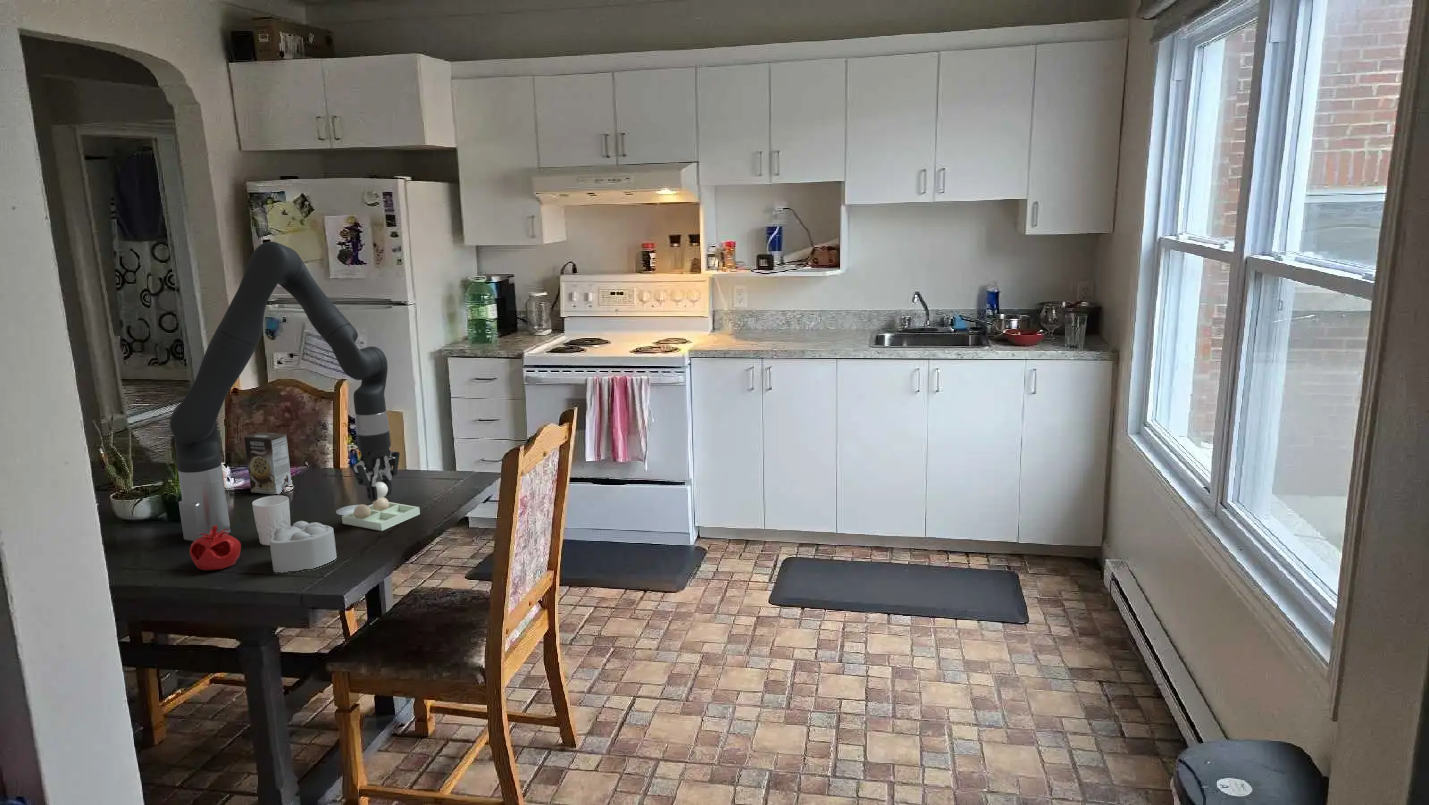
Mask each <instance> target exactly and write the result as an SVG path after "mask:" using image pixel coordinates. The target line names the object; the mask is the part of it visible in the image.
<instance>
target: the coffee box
mask: <svg viewBox="0 0 1429 805" xmlns="http://www.w3.org/2000/svg"><path fill="white" fill-rule="evenodd" d="M243 439H244V446H245V453H246V455H245V456H246V460H247V461H246V463H247V470H248V471H247V472H248V477H249V485H250V492H251V493H255V494H256V493H257V494H264V495H265V494H267V495H275V494H278V495H280V494H282V493H283V492H282V490H283V489H284V488H285V486H286V485H292V486H293V483H292V475H291V466H290V457H289V448H288V438H287V433H279V432H267V431H258V432H255V433H251V434H249V435H245V436H244V437H243ZM281 492H282V493H281Z"/></svg>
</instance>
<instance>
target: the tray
mask: <svg viewBox="0 0 1429 805" xmlns="http://www.w3.org/2000/svg"><path fill="white" fill-rule="evenodd" d="M357 505H358V506H357V507H356V508H355V509H354V512H352V513H349V514H347V515H341V521H342V522H341V524H344V525H348V526H353V527H360V528H365V529H370V530H374V531H375V530H376V531H380V532H381V531H382V532H383V531H385V530H387V529H390V528H391V527H393V526H396V525H399V524H400V523H403V522H405V521H407V520H410V519H412V518H414V517H416V518H415V520H416V519H417V520H418V517H417V516H418V515H420V514H421V510H420V506H415V505H408V504H401V503H396V502H391V501H389V500H388V499H387V498H386V497H385V496H384V497H382V498H378V499H377V500H376V501H372V504H369V505H366V504H357ZM408 522H409V521H408ZM408 522H406V523H408ZM398 527H400V525H399V526H397V528H398Z"/></svg>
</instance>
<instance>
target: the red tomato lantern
mask: <svg viewBox="0 0 1429 805" xmlns="http://www.w3.org/2000/svg"><path fill="white" fill-rule="evenodd" d="M212 529H213V530H212ZM212 529H210V530H209V531H210V535H209V534H205V533H202V534H199V535H205V536H203V537H201V538H198V539H196V540H195V541H192V542H191V545H190V547H189V554H190V558H191V559H192V562H193V563H194V565H195V566H196V568H197V569H199V570H201V571H217V570H218V569H219V570H224V569H227V568H230V567H232V566H234V565H235V564H236V563H237V560H238V559H239V558H240V556H241V551H242V543H241V542H240V541H239V540H238V539H237V538H236V537H234V536H232V535H230V533H228V532H222V531H224V530H227V529H223V530H222V531H220V532H218V533H217V525H216V526H212ZM221 532H222V533H221ZM227 534H228V535H227ZM199 535H198V536H199Z"/></svg>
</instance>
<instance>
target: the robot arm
mask: <svg viewBox="0 0 1429 805" xmlns="http://www.w3.org/2000/svg"><path fill="white" fill-rule="evenodd" d="M278 285H279V286H280V287H282V289H284V290H285V291H286V292H287V293H289V294H290V296H292V297H293V298H294V299H295V300H296V301H297V303H299V305H300V307H301V308H302V309H303V311H304V314H305V315H306V317H307V320H308V321H309V322H310V323H311V326H313V329H314V330H315V331H316V332H317V333H318V334H319V335H320V337H321V338H322V339H323V340H324V341H325V342H326V343H327V345H328V346H329V347H330V348H331V350H332V352H333V354H334V356H335V358H336V361H337V362H338V364H339V366H340V368H341V370H342V371H343V373H344V374H345V375H347V376H348V377H349V378H351V379H353V380H355V381H361V383H360V386H359V387H358V388H357V389H356V390H355V391H354V392H353V406H354V413H355V415H354V416H355V418H354V419H355V420H354V421H355V422H354V424H355V426H354V427H355V433H356V441H357V449H358V451H359V453H360V455H361V456H360V459H359V462H357V463H356V464H355V463H352V464H351V468H350V469H352V470H351V471H352V472H353V475H354V477H355V480H356V481H357V483H358V486H362V487H365V488H366V496H367V500H369V501H370V502H371V501H372V502H373V501H376V500H377V499H378V498H377V489H376V486H375V485H376V482H377V478H378V476H380V478H381V480H380V482H383V483H385V484H386V485H387V487H388V492H387V494H386V495H385V496H388V497H389V496H391V495H392V490H393V489H392V479H393V477H396V476H397V475H398V468H399V462H400V456H401V455H400V452H399V451H395V450H390V448H391V446H392V444H391V434H390V424H389V423H390V422H389V418H388V413H387V407H386V398H385V391H386V390H385V389H386V386H387V377H388V360H387V357H386V355H385V353H384V352H383V350H382V349H381V348H379V347H377V346H373V345H372V346H366V347H363V348H359V347H358V346H357V345H356V343H355V342H357V340H358V337H359V334H358V331H357V329H356V328H355V327H354V326H353V324H351V322H350V321H349V320H348V319H347V318H346V317H345V315H344V314H343V313H342V312H341V311H340V309H339V308H337V306H336V305H335V304H334V303H333V302H332V300H331V299H330V298H328V296H327V295H326V294H325V292H324V291H323V290H322V289H321V287H320V286H319V285H318V283H317V282H316V280H315V279H314V278H313V276H312V274H311V272H310V271H309V269H308V268H307V266H306V264H305V262H304V261H303V260H302V258H301V257H300V255H299V253H298V252H297V251H295V250H294V249H293V248H291V247H288V246H286V245H284V244H281V243H279V242H276V241H265V242H263V243H261V244H259V245H258V246H257V247H255V249H254V250H253V252H252V254H251V256H250V257H249V261H248V263H247V266H246V268H245V270H244V274H243V276H242V278H241V281H240V284H239V286H238V288H237V290H236V292H235V294H234V296H233V298H232V300H231V302H230V304H229V306H228V307H227V310H226V312H225V313H224V316H223V317H222V319H221V321H220V323H219V324H218V327H217V328H216V330H215V332H214V334H213V335H212V337H211V339H210V341H209V344H208V346H207V348H206V350H205V353H204V356H203V358H202V361H201V363H200V366H199V369H198V373H197V374H196V378H195V380H194V382H193V384H192V386H191V387H190V389H189V391H188V393H186V396H185V397H184V398H183V400H182V402H180V403H179V404H177V405H176V407H175V408H174V410H173V411H172V413H171V416H170V419H169V428H170V432H171V433H172V436H173V437H174V444H175V454H176V455H175V457H176V458H175V460H176V466H177V472H178V473H177V474H178V480H179V489H180V494H181V500H180V501H178V507H179V515H180V521H181V522H180V523H181V527H182V528H181V529H182V534H183V539H184V540H186V541H190V542H194V541H195V540H196V539H198V538H201V537H203V536H205V535H199V534H202V533H205V534H209V535H210V531H209V530H210V529H212V526H216V525H217V533H218V532H220V531H222V530H223V529H227V530H224V531H222V532H228V533H229V534H230V533H231V524H230V517H229V509H228V508H229V507H228V503H227V495H226V488H225V482H224V481H225V480H224V474H223V466H222V458H221V445H220V439H219V438H220V437H219V431H218V422H217V419H218V416H219V413H220V411H221V409H222V406H223V405H224V402H225V400H226V398H227V396H228V394H229V392H230V391H231V389H232V388H233V386H234V385H235V384H236V382H237V380H238V379H239V377H240V376H241V375H242V373H243V371H244V370H245V368H246V366H247V365H248V363H249V361H250V360H251V358H252V357H253V354H254V352H255V351H256V348H257V346H258V345H259V343H260V340H261V337H262V334H263V333H262V332H263V328H264V318H265V311H266V307H267V304H268V302H269V299H270V297H272V296H271V295H272V294H273V292H274V290H275V289H276V287H277V286H278ZM212 530H213V529H212ZM222 532H221V533H222ZM229 534H227V535H229ZM198 535H199V536H198Z"/></svg>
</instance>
